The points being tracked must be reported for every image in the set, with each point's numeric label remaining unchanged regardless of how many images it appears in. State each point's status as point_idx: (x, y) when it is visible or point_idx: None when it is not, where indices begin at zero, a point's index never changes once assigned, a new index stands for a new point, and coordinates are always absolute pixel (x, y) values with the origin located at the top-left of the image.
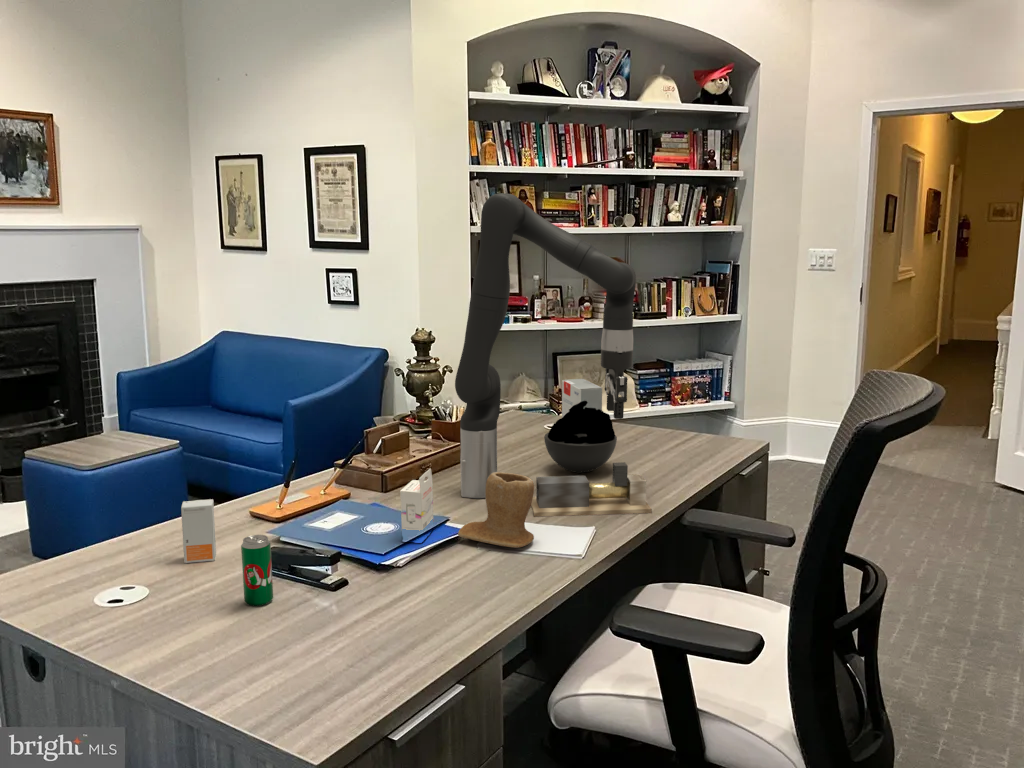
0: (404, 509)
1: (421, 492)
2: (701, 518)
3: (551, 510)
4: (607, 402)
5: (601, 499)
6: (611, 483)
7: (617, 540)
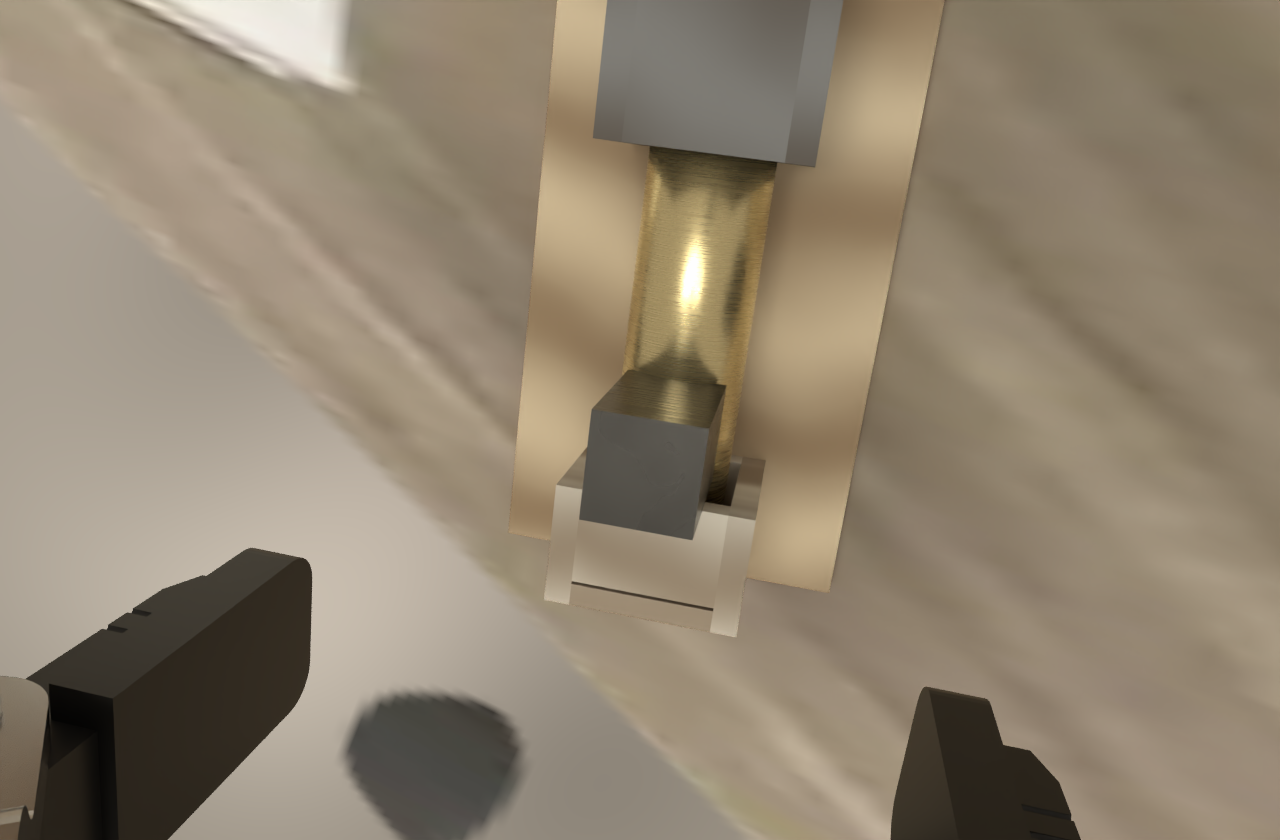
0: None
1: None
2: (387, 736)
3: None
4: (949, 786)
5: (773, 289)
6: (664, 357)
7: (107, 151)
